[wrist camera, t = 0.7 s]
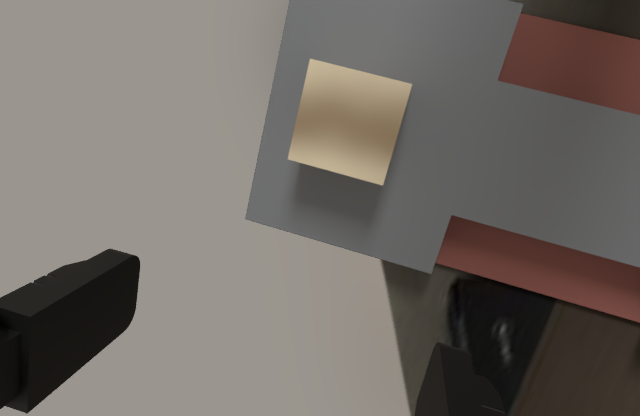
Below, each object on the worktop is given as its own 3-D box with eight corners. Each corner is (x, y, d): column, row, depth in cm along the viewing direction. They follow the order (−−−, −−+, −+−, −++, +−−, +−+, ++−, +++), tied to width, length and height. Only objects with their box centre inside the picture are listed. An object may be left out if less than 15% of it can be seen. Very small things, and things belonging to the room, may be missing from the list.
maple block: (322, 62, 30) (309, 58, 26) (411, 85, 29) (412, 83, 25) (301, 151, 31) (287, 159, 28) (385, 174, 31) (383, 185, 27)
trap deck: (308, -34, 31) (287, -62, 25) (1029, 129, 26) (1203, 138, 21) (257, 209, 36) (230, 230, 30) (854, 383, 31) (954, 448, 26)
